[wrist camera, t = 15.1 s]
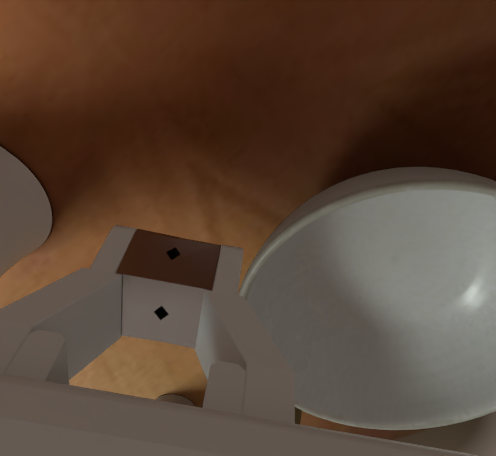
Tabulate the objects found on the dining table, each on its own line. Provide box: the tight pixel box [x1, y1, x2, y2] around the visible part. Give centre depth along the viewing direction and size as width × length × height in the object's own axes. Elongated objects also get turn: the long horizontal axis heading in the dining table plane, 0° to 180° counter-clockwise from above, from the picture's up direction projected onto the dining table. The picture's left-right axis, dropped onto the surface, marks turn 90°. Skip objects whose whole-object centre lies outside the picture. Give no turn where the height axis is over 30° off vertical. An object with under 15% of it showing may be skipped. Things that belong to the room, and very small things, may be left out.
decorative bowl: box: [238, 167, 496, 430], centre depth 41 cm, size 27×27×12 cm
